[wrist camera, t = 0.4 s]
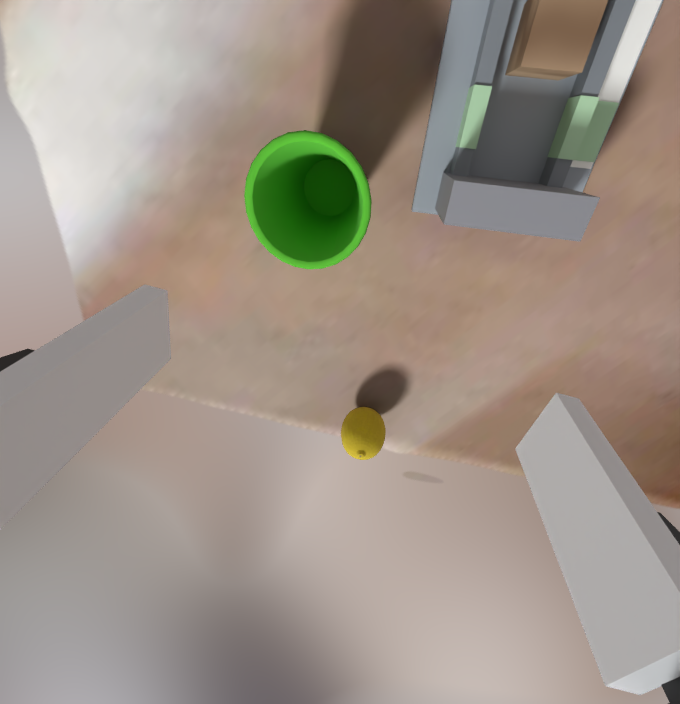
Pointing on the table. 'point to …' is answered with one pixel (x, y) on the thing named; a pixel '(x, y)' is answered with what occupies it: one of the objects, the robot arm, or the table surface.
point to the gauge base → (522, 122)
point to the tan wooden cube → (554, 38)
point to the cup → (307, 199)
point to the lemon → (363, 433)
